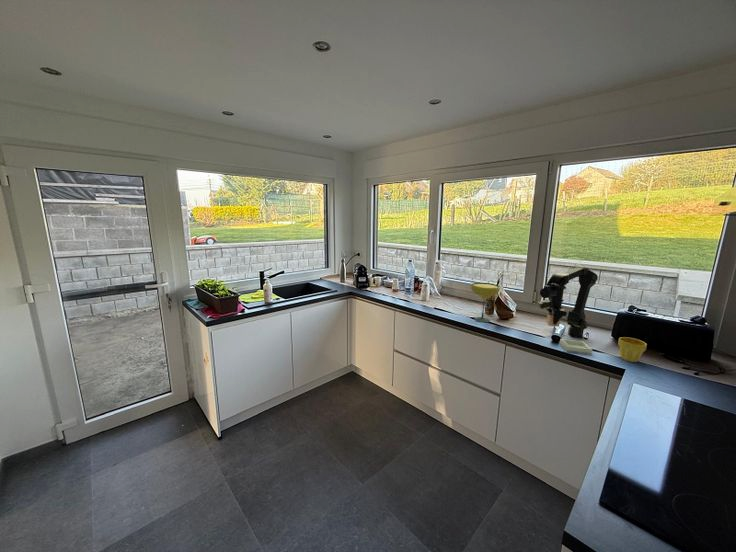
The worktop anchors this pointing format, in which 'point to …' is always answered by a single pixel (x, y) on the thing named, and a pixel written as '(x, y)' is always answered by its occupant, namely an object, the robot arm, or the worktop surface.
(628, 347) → the plant pot
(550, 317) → the terracotta block
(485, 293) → the cocktail glass
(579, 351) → the sage tray
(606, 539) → the worktop surface
